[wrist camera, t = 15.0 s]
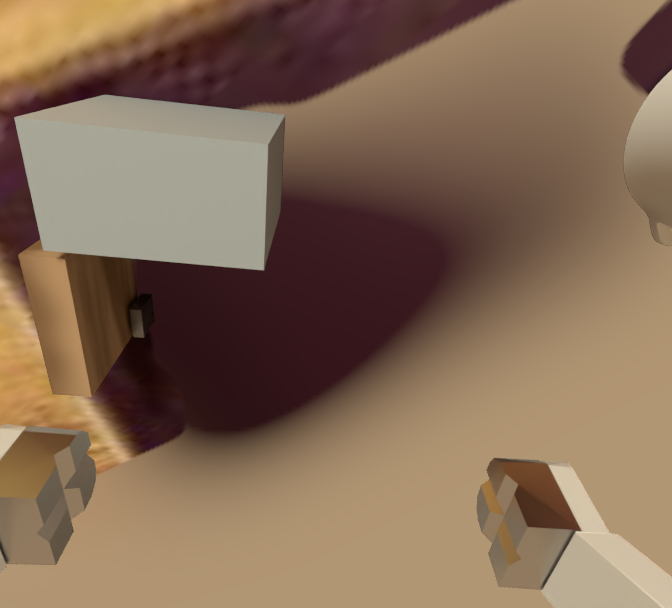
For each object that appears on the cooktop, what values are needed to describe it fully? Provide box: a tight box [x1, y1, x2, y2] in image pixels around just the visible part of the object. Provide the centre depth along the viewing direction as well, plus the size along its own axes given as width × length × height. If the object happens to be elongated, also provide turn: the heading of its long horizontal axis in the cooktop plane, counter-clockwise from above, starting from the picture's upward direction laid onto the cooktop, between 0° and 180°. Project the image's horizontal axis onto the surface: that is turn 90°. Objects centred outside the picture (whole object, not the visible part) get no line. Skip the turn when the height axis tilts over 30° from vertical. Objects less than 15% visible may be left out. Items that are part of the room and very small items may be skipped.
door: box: [18, 239, 137, 397], centre depth 39 cm, size 4×12×11 cm, turn 174°
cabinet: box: [14, 95, 285, 270], centre depth 34 cm, size 14×8×12 cm, turn 84°
